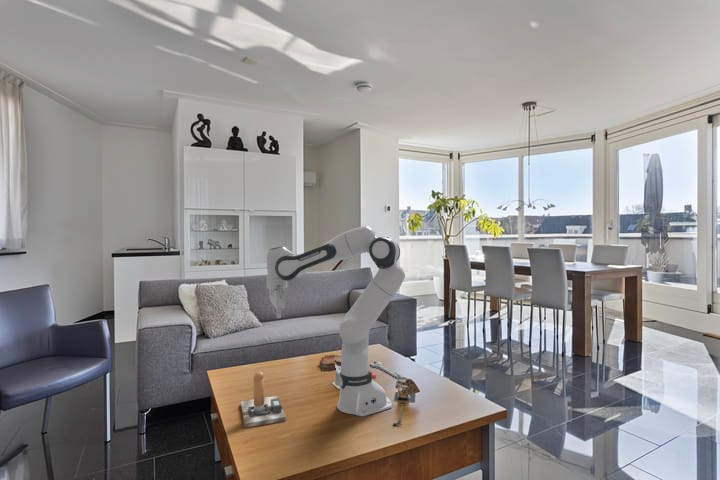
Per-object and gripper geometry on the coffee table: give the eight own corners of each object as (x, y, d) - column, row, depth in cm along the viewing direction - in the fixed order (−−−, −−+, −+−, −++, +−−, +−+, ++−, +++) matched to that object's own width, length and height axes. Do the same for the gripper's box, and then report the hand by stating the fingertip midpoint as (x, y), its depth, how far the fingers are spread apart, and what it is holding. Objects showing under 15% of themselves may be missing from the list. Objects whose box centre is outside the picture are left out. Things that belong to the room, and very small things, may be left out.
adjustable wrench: (402, 379, 189) (402, 375, 189) (391, 381, 186) (391, 378, 186) (378, 363, 211) (378, 360, 211) (367, 365, 208) (367, 361, 208)
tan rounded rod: (263, 408, 153) (263, 369, 153) (264, 412, 149) (264, 373, 149) (253, 409, 151) (253, 370, 151) (254, 414, 148) (254, 374, 147)
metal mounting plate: (277, 399, 165) (277, 393, 165) (285, 420, 146) (285, 414, 146) (241, 404, 159) (241, 399, 159) (244, 427, 141) (244, 421, 141)
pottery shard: (317, 362, 214) (317, 355, 214) (345, 359, 217) (345, 352, 217) (321, 372, 198) (321, 364, 198) (351, 369, 202) (351, 362, 201)
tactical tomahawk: (410, 431, 141) (410, 428, 141) (392, 427, 142) (392, 424, 142) (415, 405, 161) (415, 402, 161) (399, 402, 163) (399, 399, 163)
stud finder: (278, 404, 156) (278, 398, 156) (281, 411, 150) (281, 405, 150) (270, 405, 155) (270, 399, 155) (273, 413, 149) (273, 406, 149)
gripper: (288, 286, 159) (288, 320, 159) (280, 281, 178) (280, 310, 178) (273, 287, 157) (273, 321, 157) (266, 281, 176) (266, 311, 176)
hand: (277, 315), depth 168 cm, fingers open, 8 cm apart
